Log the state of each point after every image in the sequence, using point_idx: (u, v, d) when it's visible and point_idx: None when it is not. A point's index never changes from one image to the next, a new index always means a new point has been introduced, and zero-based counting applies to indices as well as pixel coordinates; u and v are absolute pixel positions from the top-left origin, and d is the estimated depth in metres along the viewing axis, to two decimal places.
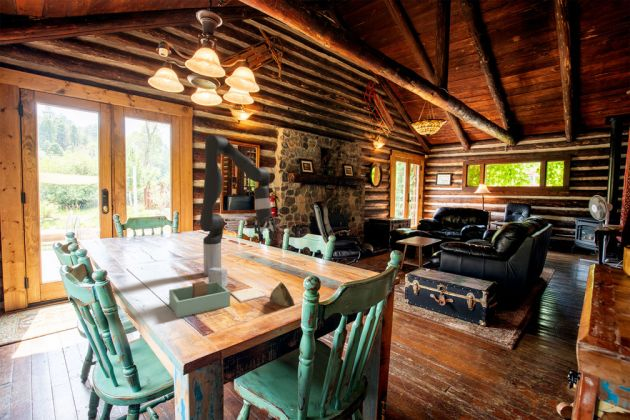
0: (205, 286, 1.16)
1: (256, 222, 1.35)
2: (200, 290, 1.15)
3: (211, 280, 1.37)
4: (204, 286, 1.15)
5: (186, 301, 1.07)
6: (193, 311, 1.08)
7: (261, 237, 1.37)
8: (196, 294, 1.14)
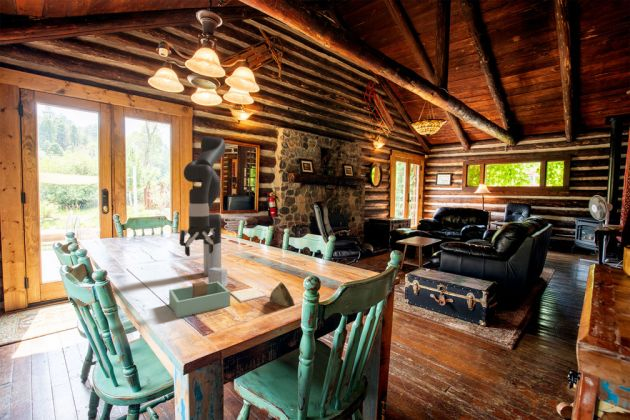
0: (205, 286, 1.16)
1: (180, 232, 1.10)
2: (200, 290, 1.15)
3: (211, 280, 1.37)
4: (204, 286, 1.15)
5: (186, 301, 1.07)
6: (193, 311, 1.08)
7: (186, 250, 1.12)
8: (196, 294, 1.14)
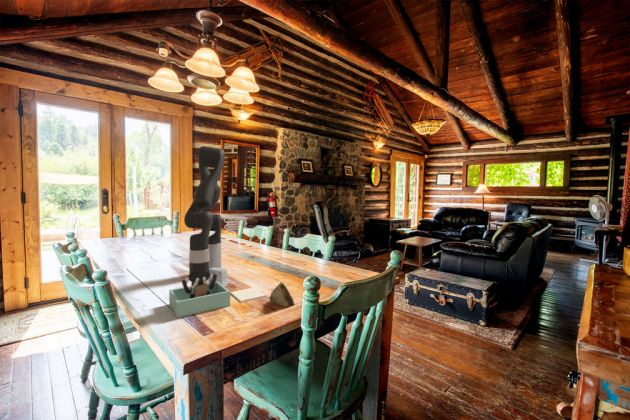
0: (205, 286, 1.16)
1: (182, 281, 1.12)
2: (200, 290, 1.15)
3: None
4: (204, 286, 1.15)
5: (186, 301, 1.07)
6: (193, 311, 1.08)
7: (191, 297, 1.14)
8: (196, 294, 1.14)
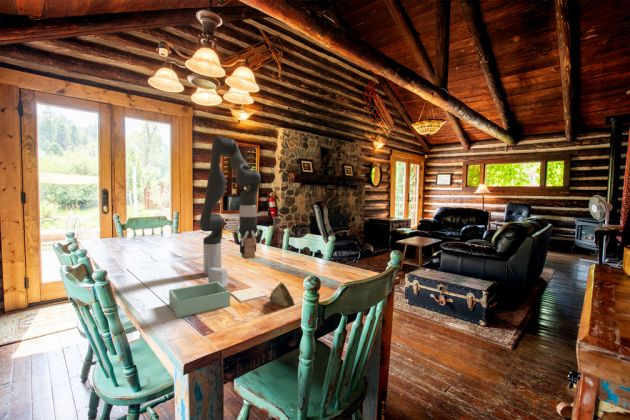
0: (253, 239, 1.26)
1: (233, 234, 1.23)
2: (249, 242, 1.25)
3: (211, 280, 1.37)
4: (252, 239, 1.26)
5: (186, 301, 1.07)
6: (193, 311, 1.08)
7: (241, 249, 1.25)
8: (246, 246, 1.24)
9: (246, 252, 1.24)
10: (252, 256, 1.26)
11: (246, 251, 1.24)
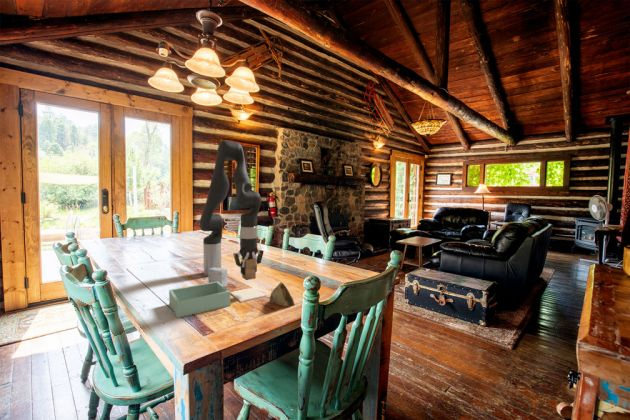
0: (254, 260, 1.27)
1: (234, 255, 1.24)
2: (250, 264, 1.26)
3: (211, 280, 1.37)
4: (253, 260, 1.27)
5: (186, 301, 1.07)
6: (193, 311, 1.08)
7: (242, 270, 1.26)
8: (247, 267, 1.25)
9: (247, 273, 1.25)
10: (253, 277, 1.27)
11: (247, 273, 1.25)
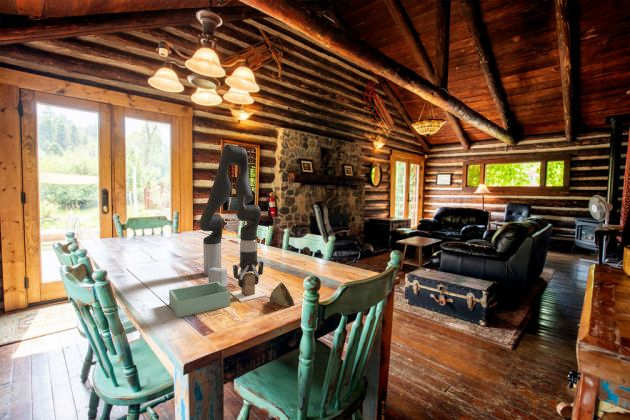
0: (253, 276, 1.28)
1: (234, 267, 1.24)
2: (249, 280, 1.26)
3: (211, 280, 1.37)
4: (252, 276, 1.27)
5: (186, 301, 1.07)
6: (193, 311, 1.08)
7: (240, 283, 1.26)
8: (246, 283, 1.26)
9: (246, 289, 1.26)
10: (252, 293, 1.28)
11: (246, 289, 1.26)
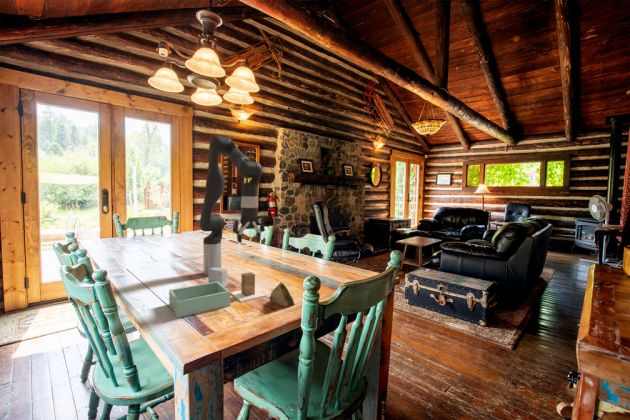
0: (253, 276, 1.28)
1: (234, 221, 1.25)
2: (249, 280, 1.26)
3: (211, 280, 1.37)
4: (252, 276, 1.27)
5: (186, 301, 1.07)
6: (193, 311, 1.08)
7: (239, 238, 1.26)
8: (246, 283, 1.26)
9: (246, 289, 1.26)
10: (252, 293, 1.28)
11: (246, 289, 1.26)
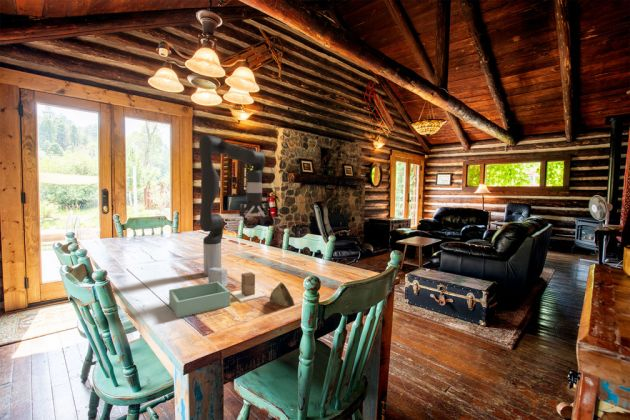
0: (253, 276, 1.28)
1: (241, 205, 1.36)
2: (249, 280, 1.26)
3: (211, 280, 1.37)
4: (252, 276, 1.27)
5: (186, 301, 1.07)
6: (193, 311, 1.08)
7: (245, 221, 1.37)
8: (246, 283, 1.26)
9: (246, 289, 1.26)
10: (252, 293, 1.28)
11: (246, 289, 1.26)
